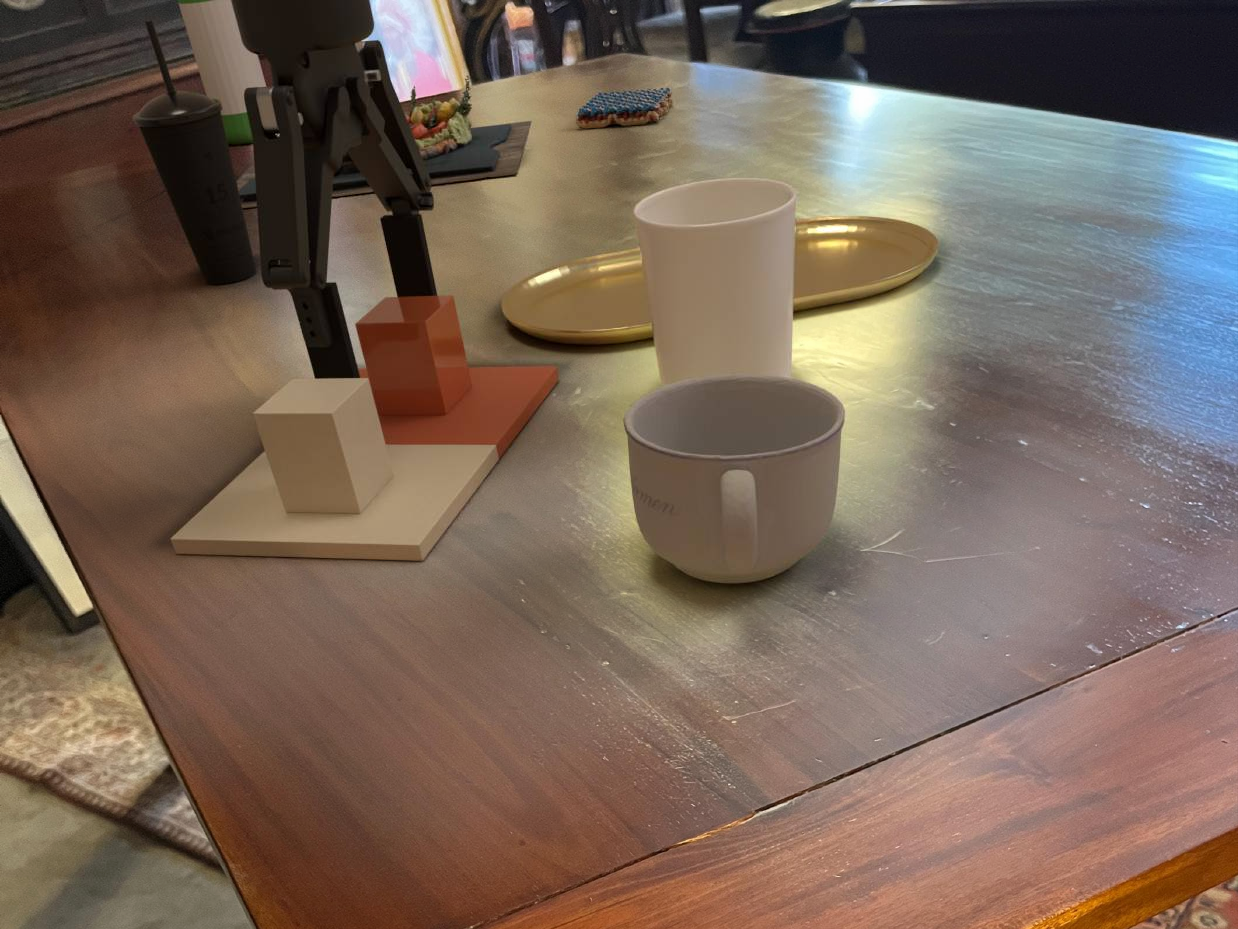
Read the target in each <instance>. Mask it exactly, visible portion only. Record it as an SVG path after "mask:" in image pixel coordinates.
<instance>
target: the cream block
mask: <svg viewBox="0 0 1238 929" xmlns="http://www.w3.org/2000/svg"><path fill="white" fill-rule="evenodd" d="M252 417H253V419H254V423H255V426H256V429H257V431H258V435H259V437H260V440H261V443H262V445H263V449H264V451H265V452H266V455H267V458H268V461H269V464H270V467H271V470H272V473H273V476H274V479H275V482H276V485H277V488H278V491H279V494H280V497H281V500H282V503H283V506H284V509H285V512H298V513H353V514H361V513H362V512H363V511H364V509H365V508H366V507H367V506H368V505H369V504H370V503H371V501H372V500H373V499H374V498H375V497H376V496H377V495H378V493H379V492H380V491H381V490H382V489H383V488H384V486H385V485H386V484H387V483H388V482H389V481H390V480H391V478H392V477H393V476H394V475H393V471H392V467H391V463H390V459H389V455H388V452H387V448H386V444H385V440H384V436H383V433H382V429H381V425H380V421H379V417H378V414H377V410H376V406H375V402H374V398H373V395H372V391H371V387H370V383H369V379H368V378H334V379H315V378H291V380H289V381H288V382H287V383H286V384H285V385H283V386H282V387H281V388H280V389H279V390H278V391H277V392H275V393H274V394H273V395H272V396H270V398H268V399H267V400H266V401H264V403H263V404H262V405H261V406H259V407H258V408H257V409H256V410H255V411H253V412H252Z"/></svg>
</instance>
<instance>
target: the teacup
mask: <svg viewBox="0 0 1238 929" xmlns="http://www.w3.org/2000/svg"><path fill="white" fill-rule="evenodd" d="M845 419H846V410H845V407H844V405H843V403H842V402H841V400H840V399H839V398H838V397H837V396H835V395H834V394H833V393H832V392H830V391H829V390H827V389H825V388H823V387H821V386H818V385H815V384H813V383H811V382H807V381H804V380H799V379H796V378H792V377H791V378H785V377H779V376H765V375H749V374H727V375H714V376H703V377H698V378H693V379H688V380H683V381H679V382H676V383H673V384H669V385H666V386H663V387H661V386H660V387H658V388H656V389H653V390H652V391H650V392H649V391H648V393H646V394H644V395H642V396H640V397H639V398H638V399H636V400H634V402H633V403H632V404H630V405H629V406H628V407H627V409H626V412H625V414H624V416H623V419H622V420H623V427H624V431H625V434H626V436H627V448H628V450H627V452H628V466H629V476H630V477H629V478H630V485H631V496H632V502H633V508H634V514H635V520H636V523H637V526H638V529H639V532H640V533H641V535H642V537H643V539H644V541H645V542H646V543H647V544H648V546H649V547H650V548H651V549H652V550H653V551H654V553H656V554H657V555H658V556H659V557H661V558H662V559H664V560H666V561H667V562H669V563H670V564H672V565H673V566H674V567H675V568H676V569H678V570H680V571H681V572H683V573H684V574H686V575H688V576H690V577H692V578H695V579H698V580H701V581H705V582H711V583H719V584H747V583H753V582H759V581H763V580H766V579H769V578H773V577H775V576H777V575H780V574H781V573H783V572H785V571H787V570H788V569H790V568H791V567H793V566H794V565H795V564H796V563H797V562H798V561H799V560H801V559H802V558H804V557H806V556H807V555H809V554H810V553H811V552H812V551H813V550H815V549H816V548H817V547H818V545H819V544H820V543H821V542H822V540H823V539H824V538H825V536H826V535H827V533H828V531H829V528H830V526H831V523H832V521H833V516H834V512H835V508H836V502H837V501H836V500H837V493H838V485H839V476H840V475H839V474H840V461H841V444H842V431H843V428H844V425H845Z"/></svg>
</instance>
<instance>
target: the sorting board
mask: <svg viewBox="0 0 1238 929" xmlns="http://www.w3.org/2000/svg"><path fill="white" fill-rule="evenodd" d="M468 369H469V373H470V378H471V383H472V386H471V387H470V388H469V390H468V391H467V392H466V393H465V394H464V395H463V396H462V398H461V399H460V400H459V401H458V402H457V403H456V404H455V406H454V407H453V408H452V409H451V410H450V411H449V412H448V414H447V415H379V414H378V410H377V406H376V402H375V398H374V395H373V391H372V387H371V383H370V379H369V376H368V372H367V368H358V371H359V375H360V378H368V379H369V383H370V387H371V391H372V395H373V398H374V402H375V406H376V410H377V414H378V417H379V421H380V425H381V429H382V433H383V436H384V440H385V444H386V448H387V452H388V455H389V459H390V463H391V467H392V471H393V475H394V476H393V477H392V478H391V480H390V481H389V482H388V483H387V484H386V485H385V486H384V488H383V489H382V490H381V491H380V492H379V493H378V495H377V496H376V497H375V498H374V499H373V500H372V501H371V503H370V504H369V505H368V506H367V507H366V508H365V509H364V511H363V512H362V513H361V514H353V513H298V512H285V509H284V506H283V503H282V500H281V497H280V494H279V491H278V488H277V485H276V482H275V479H274V476H273V473H272V470H271V467H270V464H269V461H268V458H267V455H266V452H265V450H264V451H263V452H262V453H260V455H258V456H257V457H256V458H255V459H254V460H253V461H251V463H250V464H249V465H248V466H247V467H246V468H245V469H243V470H242V471H241V472H240V473H239V474H238V475H237V476H236V477H234V479H233V480H231V481H230V482H229V483H228V484H227V485H226V486H225V487H224V488H223V489H222V490H221V491H219V493H218V494H216V495H215V496H214V498H212V499H211V500H209V502H208V503H207V504H206V505H205V506H204V507H202V508H201V510H199V511H198V512H197V513H196V514H195V515H194V516H193V517H192V518H191V519H189V520H188V521H187V523H185V524H184V525H183V526H182V527H181V528H180V529H179V530H178V531H177V532H176V533H175V534H173V535H172V536H171V537H170V539H169V540H170V541H171V545H172V547H173V549H174V552H175V554H177V555H208V556H211V555H213V556H240V557H241V556H243V557H245V556H247V557H280V558H281V557H282V558H314V559H316V558H317V559H345V560H346V559H349V560H352V559H353V560H384V561H385V560H386V561H387V560H388V561H419V562H421V561H422V562H423V561H424V560H425V559H426V557H427V556H428V554H430V552H431V550H432V549H433V548H434V546H435V545H436V544H437V543H438V542H439V540H440V538H441V537H443V534H444V533H445V532H446V530H447V529H448V528H449V527H450V525H451V524H452V523H453V521H454V520H455V518H456V517H457V516H458V515H459V513H460V512H462V510H463V508H464V506H465V505H466V504H467V503H468V501H469V500H470V499H471V498H472V496H473V495H474V493H475V492H476V491H477V489H478V488H479V487H480V486H481V485H482V483H483V482H484V481H485V479H486V478H487V476H488V475H489V473H490V472H491V471H492V469H494V467H495V465H496V464H497V463H498V462H499V461H500V459H501V457H502V456H503V455H504V453H505V452H506V451H507V449H508V448H509V447H510V445H511V444H512V443H513V441H514V440H515V439H516V437H517V436H518V435H519V434H520V432H521V431H522V429H523V428H524V427H525V426H526V425H527V423H528V421H529V420H530V419H531V417H533V415H534V414H535V412H536V411H537V410H538V409H539V407H540V405H541V404H542V403H543V402H544V400H545V399H546V398H547V396H548V395H549V393H550V392H551V391H552V389H554V387H555V386H556V384H557V383H558V382H559V380H560V377H559V371H558V366H557V365H534V366H533V365H532V366H531V365H530V366H529V365H528V366H527V365H525V366H522V365H521V366H471V367H470V366H468Z"/></svg>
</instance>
